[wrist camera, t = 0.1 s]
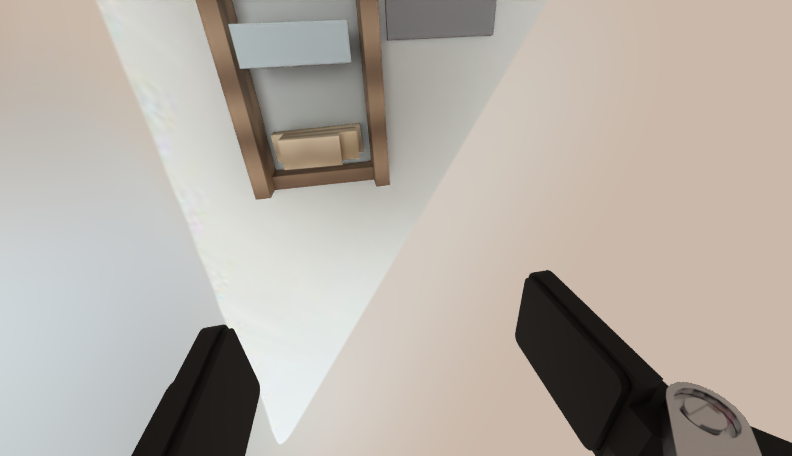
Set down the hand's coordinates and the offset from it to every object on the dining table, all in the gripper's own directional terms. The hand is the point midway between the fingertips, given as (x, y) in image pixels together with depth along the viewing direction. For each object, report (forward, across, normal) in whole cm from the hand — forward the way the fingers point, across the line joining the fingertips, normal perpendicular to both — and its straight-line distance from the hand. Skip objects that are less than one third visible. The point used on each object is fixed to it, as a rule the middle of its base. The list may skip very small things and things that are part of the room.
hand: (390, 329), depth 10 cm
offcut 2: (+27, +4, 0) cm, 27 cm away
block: (+31, +4, -9) cm, 33 cm away
